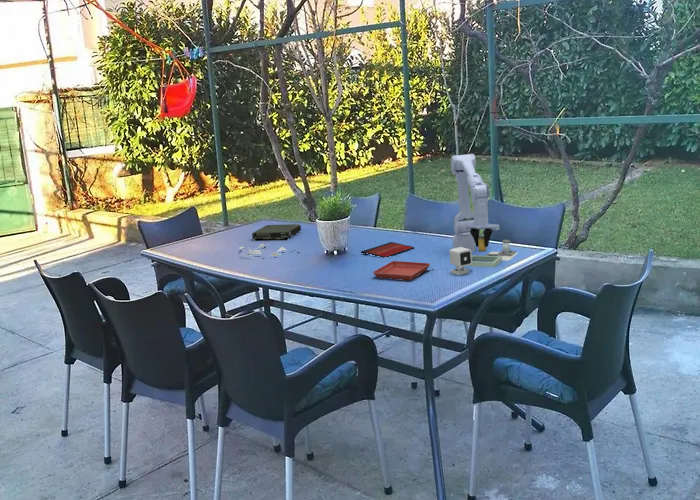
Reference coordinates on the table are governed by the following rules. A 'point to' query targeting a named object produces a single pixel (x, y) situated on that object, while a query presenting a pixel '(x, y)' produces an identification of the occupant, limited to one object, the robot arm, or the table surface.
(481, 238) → the amber fuse
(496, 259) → the parts tray
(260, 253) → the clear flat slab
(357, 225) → the table surface
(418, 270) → the plant saucer
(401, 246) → the binder
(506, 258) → the fuse block
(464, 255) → the security camera
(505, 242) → the grey fuse
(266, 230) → the network switch
